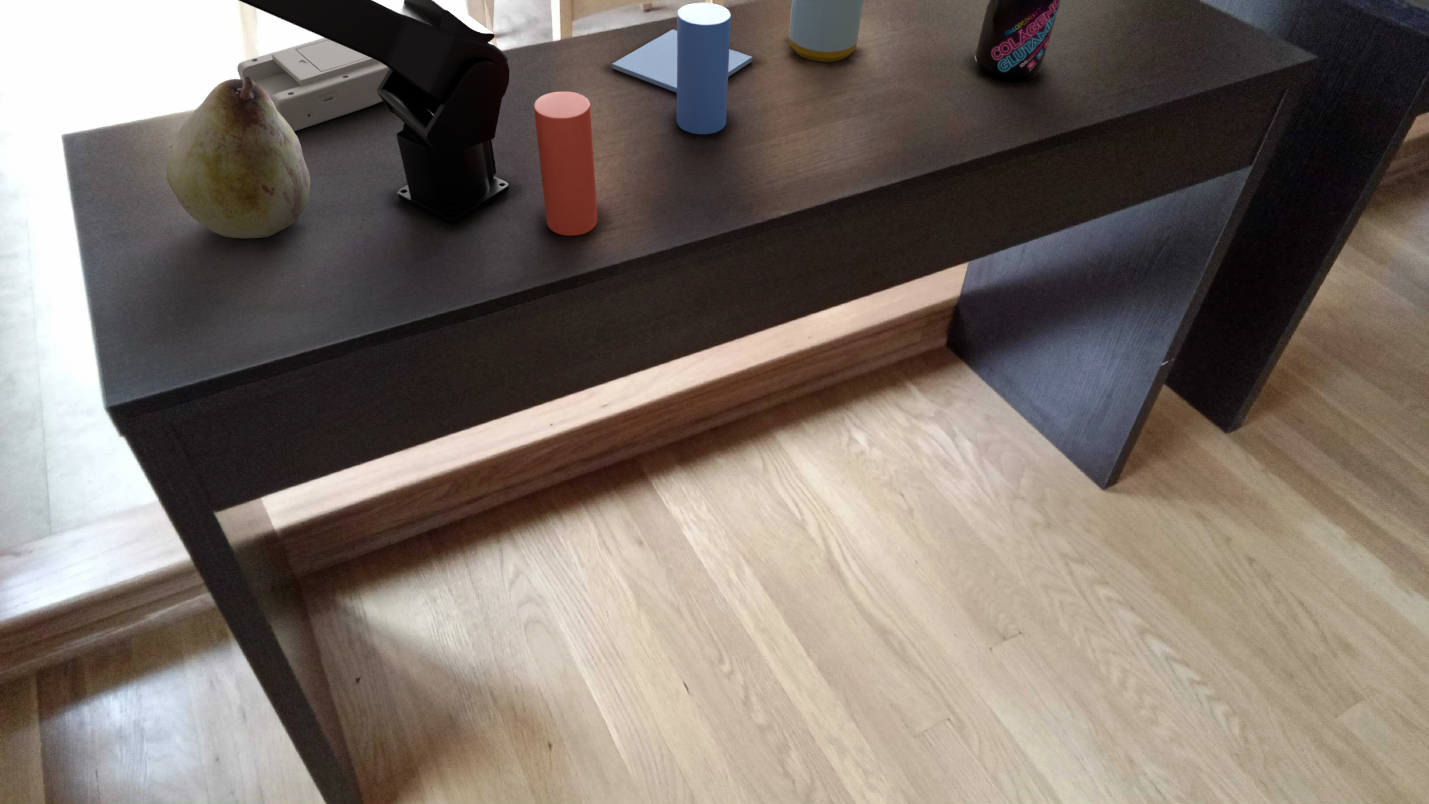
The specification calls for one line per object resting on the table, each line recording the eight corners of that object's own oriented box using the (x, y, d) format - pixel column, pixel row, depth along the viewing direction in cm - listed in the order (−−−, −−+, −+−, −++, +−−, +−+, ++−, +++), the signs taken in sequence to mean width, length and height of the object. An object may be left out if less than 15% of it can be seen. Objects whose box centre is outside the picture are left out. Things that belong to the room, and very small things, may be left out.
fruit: (328, 248, 72) (282, 100, 63) (193, 273, 69) (126, 123, 60) (314, 177, 78) (271, 36, 70) (190, 199, 76) (130, 53, 67)
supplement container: (968, 77, 95) (994, -30, 87) (976, 48, 99) (1001, -56, 92) (1037, 89, 93) (1069, -19, 86) (1042, 59, 98) (1072, -45, 91)
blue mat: (694, 99, 90) (694, 94, 89) (611, 68, 94) (611, 63, 93) (752, 61, 96) (752, 56, 95) (672, 33, 99) (672, 29, 99)
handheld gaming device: (383, 13, 92) (391, 52, 94) (231, 57, 85) (245, 97, 87) (429, 46, 87) (437, 85, 90) (273, 96, 80) (286, 136, 83)
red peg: (574, 242, 73) (564, 124, 66) (536, 223, 75) (521, 106, 68) (607, 218, 76) (601, 102, 68) (569, 201, 77) (559, 85, 70)
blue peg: (707, 140, 85) (710, 30, 77) (666, 124, 86) (666, 15, 79) (735, 120, 87) (741, 11, 80) (695, 105, 89) (698, -3, 82)
